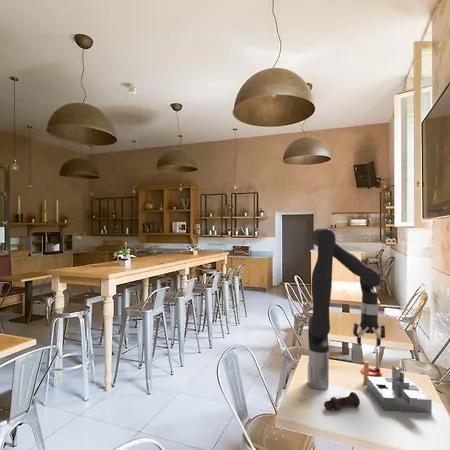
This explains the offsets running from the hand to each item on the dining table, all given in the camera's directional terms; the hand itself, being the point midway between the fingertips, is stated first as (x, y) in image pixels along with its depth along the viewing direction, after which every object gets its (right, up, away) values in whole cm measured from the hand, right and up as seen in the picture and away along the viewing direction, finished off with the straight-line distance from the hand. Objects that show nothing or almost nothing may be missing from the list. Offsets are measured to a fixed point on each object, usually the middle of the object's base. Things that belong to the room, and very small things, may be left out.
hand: (368, 345), depth 159 cm
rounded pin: (-1, -18, 0) cm, 18 cm away
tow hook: (+6, -19, +11) cm, 22 cm away
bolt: (-21, -19, -21) cm, 36 cm away
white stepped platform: (+6, -18, -18) cm, 26 cm away
